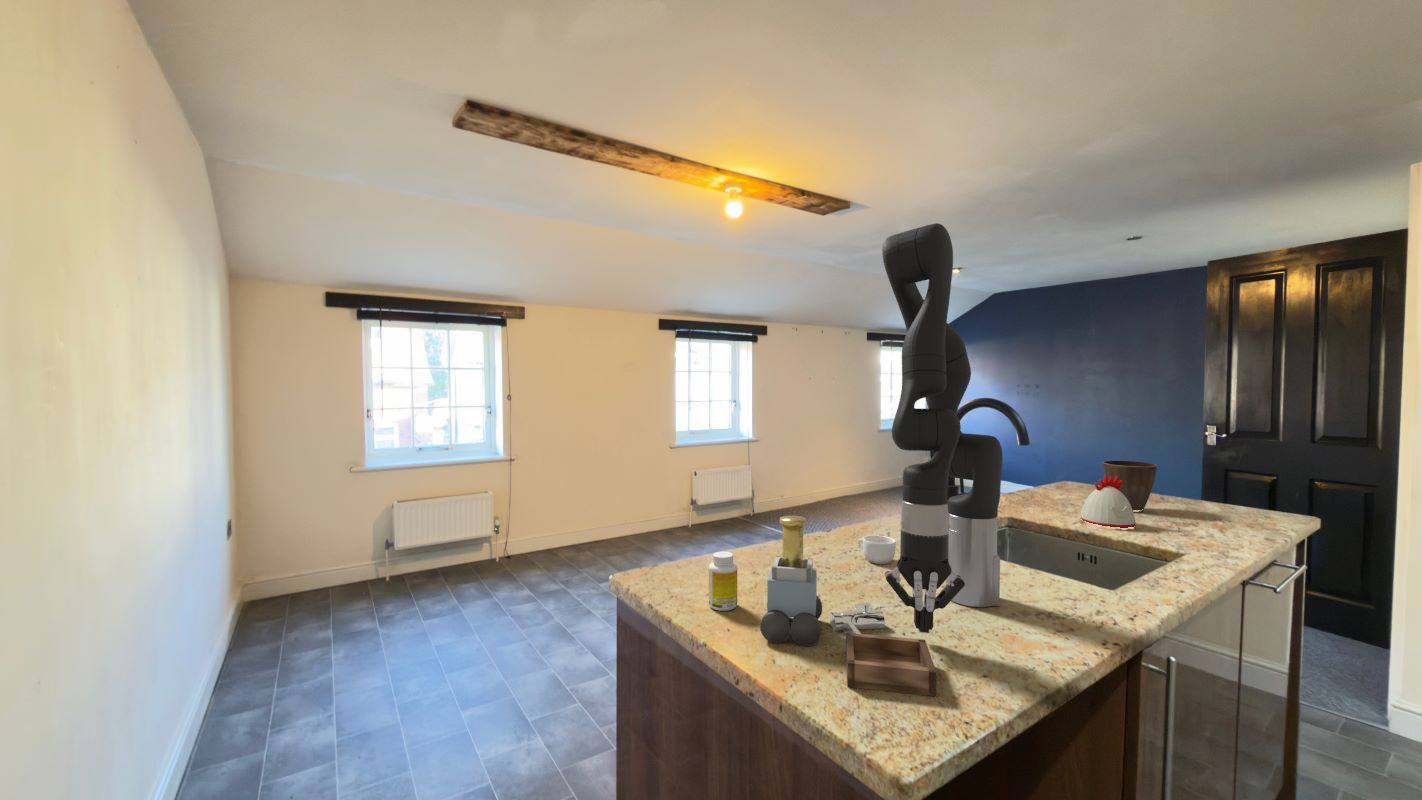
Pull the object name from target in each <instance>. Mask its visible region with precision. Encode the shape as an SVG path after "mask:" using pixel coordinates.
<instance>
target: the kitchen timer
mask: <svg viewBox="0 0 1422 800" xmlns="http://www.w3.org/2000/svg"><path fill="white" fill-rule="evenodd" d="M1098 483H1099V485H1098ZM1098 483H1096V482H1094V487H1095V489H1094V490H1093V491H1092V492H1091V493H1090V494H1089V495H1088V497H1086V499H1085V501H1084V503H1083V505H1082V508H1081V511H1080V519H1082V520H1083V521H1086V522H1089V523H1093V524H1098V525H1102V526H1110V527H1120V528H1128V527H1134V526H1136V525H1137V524H1136V518H1135V514H1134V513H1135V512H1133V510H1132V508H1131V505H1130V503H1129V501H1128V500H1127V498H1126V497H1125V496H1124V495H1123V494H1122V493H1121V492H1120V491H1119V489H1120V487H1121V485H1122V483H1123V481H1122V480H1121V481H1120V482H1119V481H1118V477H1117V476H1116V477H1115V479H1114V482H1113V478H1112V476H1109V481H1108V478H1107V476H1105V475H1104V476H1103V480H1102V479H1098ZM1080 519H1079V520H1080ZM1136 527H1137V526H1136Z"/></svg>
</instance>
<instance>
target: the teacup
mask: <svg viewBox="0 0 1422 800" xmlns="http://www.w3.org/2000/svg"><path fill="white" fill-rule="evenodd" d="M861 542H862V545H861ZM857 545H858V547H859V548H860V549H861V551H862V552H863V554H864V557H865V559H867V561H869V562H870V563H873V564H877V565H886V564H889V563H891V562H892V561H893V559H894V557H895V554H896V549H897V548H896V547H897V540H896V539H894V538H893V537H890V536H885V535H880V534H879V535H878V534H870V535H865V536H863V537H862V538H859V539H858V540H857Z"/></svg>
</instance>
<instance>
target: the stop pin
mask: <svg viewBox="0 0 1422 800" xmlns="http://www.w3.org/2000/svg"><path fill="white" fill-rule="evenodd" d="M779 524H780V525H782V556H783V561H782V567H793V568H803V558H804V526H806V525H807V518H806V517H804V516H800V515H783V516H781V517H779Z"/></svg>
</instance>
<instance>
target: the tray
mask: <svg viewBox="0 0 1422 800" xmlns="http://www.w3.org/2000/svg"><path fill="white" fill-rule="evenodd" d="M845 660H846V661H845V663H846V683H847V685H846V686H847V688H855V689H861V690H863V689H865V690H872V691H881V692H888V693H889V692H891V693H899V694H908V695H917V694H921V695H920V696H926V695H930V696H929V697H935V696H936V697H937V669H936V667H935V664H934V661H933V658H932V654H931V652H930V650H929V647H928V643H927V641H926V639H921V638H920V639H919V638H908V637H899V636H898V637H896V636H888V635H887V636H886V635H878V634H877V635H875V634H865V633H861V634H855V633H846V634H845Z"/></svg>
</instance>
